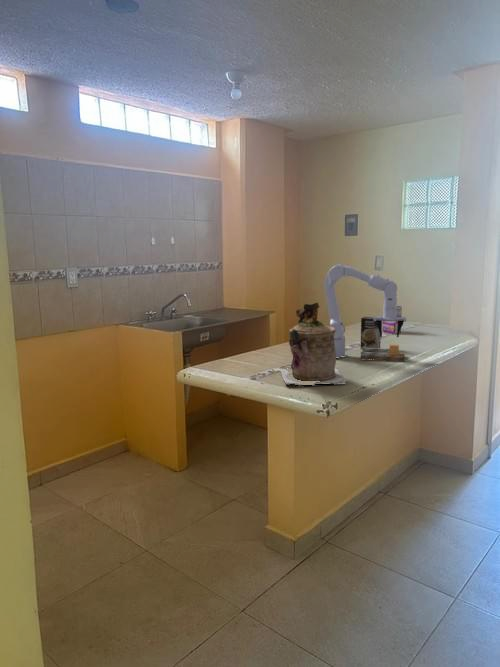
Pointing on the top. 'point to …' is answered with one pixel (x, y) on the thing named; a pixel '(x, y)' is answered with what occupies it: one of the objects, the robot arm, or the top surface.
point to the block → (394, 349)
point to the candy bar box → (392, 322)
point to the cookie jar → (312, 350)
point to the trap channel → (381, 355)
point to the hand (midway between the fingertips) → (389, 336)
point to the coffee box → (370, 333)
